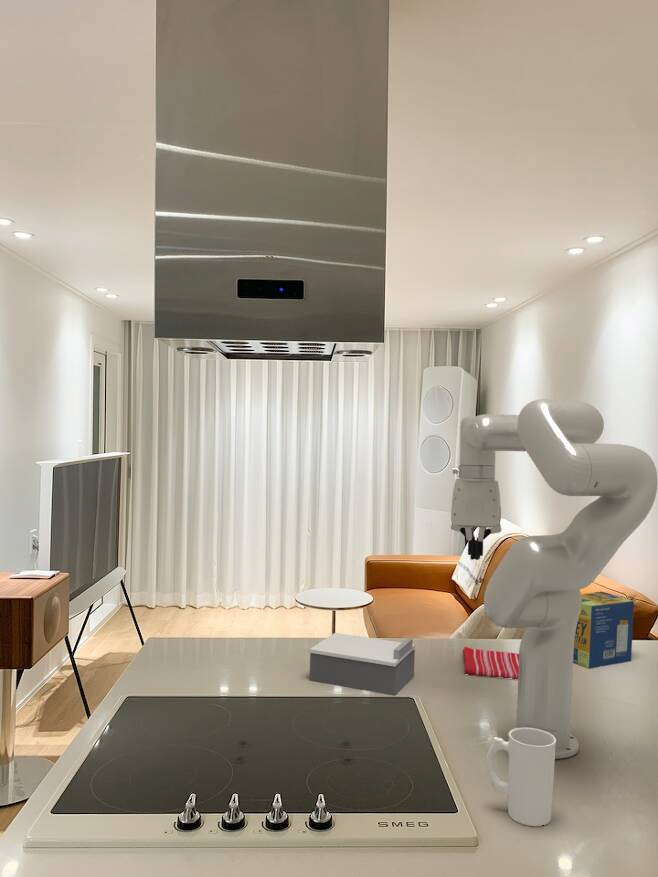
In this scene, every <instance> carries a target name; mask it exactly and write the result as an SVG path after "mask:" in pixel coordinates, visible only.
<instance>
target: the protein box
mask: <svg viewBox="0 0 658 877" xmlns="http://www.w3.org/2000/svg"><path fill="white" fill-rule="evenodd" d="M581 599H582V602H581V610H580V614H579V618H578V622H577V627H576V632H575V640H574V653H573V662H574V663H573V664H576V665H579V666H581V667H583V666H584V667H583V668H585V667H586V669H588V668H589V669H592V668H593V669H594V667H595V668H599V667H600V666H601V667H605V666H612V665H617V664H624V663H629V662H631V661H632V650H633V630H634V629H633V627H634V626H633V625H634V608H635V606H634V605H635V602H634V601H635V600H631V599H628V598H625V597H622V596H618V595H615V594H611V593H608V592H604V591H596V592H590V593H589V592H587V593H581Z"/></svg>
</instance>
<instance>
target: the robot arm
mask: <svg viewBox="0 0 658 877" xmlns="http://www.w3.org/2000/svg"><path fill="white" fill-rule="evenodd" d="M604 426H605V422H604V418H603V416H602V413H601V412H600V411H599V410H598V408H596V407H595V406H594V405H592V404H590V403H589V402H588V403H587V402H585V401H579V400H568V399H567V400H566V399H563V400H562V399H536V400H532V401H530V402H528V403H526V404H525V405H524V406H523V407H522V409H521V410H520V411H519V413H518V414H492V413H491V414H479V415H474V416H473V415H470V416H465V417H464V416H463V418H462V419H461V421H460V427H459V428H460V430H459V431H460V433H459V435H460V436H459V437H460V438H459V464H458V466H456V467H452V474H455V475H457V476H458V478H459V479H455V480H454V485H453V491H452V499H451V510H450V520H451V524H450V529H451V530H452V531H455V532H457V533H461V534H462V535H463V536H464V538H465V539H466V541H467V555H468V556H469V557H470V560H475V561H479V560H480V559H481V556H483V555H484V540H485V539H487V538H488V537H489V536H490V535H493V534H499V533H501V532H502V526H501V520H502V518H501V517H502V516H501V515H502V514H501V513H502V512H501V510H502V509H501V491H500V487H499V486H500V485H499V481H498V480H496V452H526V453H527V455H528V457H529V458H530V459H531V461H532V462H533V465H535V467H536V469H537V470H538V471H539V473H540V475H541V476H542V478H543V479H544V481H545V483H546V484H547V486H548V487H550V488H551V489H552V490H553V491H554V492H556V493H558V494H559V495H562V496H568V497H598V498H597V499H595V500H594V501H592V502H590V503H588V504H587V505H586V506H585V507H583V508H582V509H581V510H580V511H578V512H577V514H576V515H575V516H574V517H573V519H572V521H571V522H570V523H569V524H568V526H567V527H566V528H565V530H563V531H562V532H560V533H557V534H550V535H549V534H547V535H545V534H544V535H529V536H525V537H522V538H520V539H517V541H515V542H514V543H513V544H512V545H511V546H510V547H509V549H508V550H507V552H506V553H505V555H504V556H503V558H502V559H501V561H500V563H499V564H498V566H497V567H496V569H495V571H494V572H493V574H492V576H491V577H490V579H489V581H488V583H487V584H486V588H485V590H484V595H483V597H484V598H483V607H484V610H485V611H484V612H485V614H486V616H487V618H488V619H489V621H490V622H491V623H493V624H494V625H496V627H497V626H498V627H500V628H505V629H519V628H521V629H522V628H525V631H524V633H523V635H522V637H521V641H520V643H519V648H518V649H519V650H518V654H519V670H518V680H517V701H516V705H517V706H516V726H514V727H511V728H510V729H509V730H508V732H507V737H506V739H507V740H506V741H507V742H508V741H509V732H510V731H511V730H513V729H516V728H535V729H540V730H543V731H546V732H548V733H550V734H552V735H553V736H554V737H555V738H556V743H555V760H556V759H557V760H558V759H559V760H560V759H566V758H567V759H568V758H570V757H573V756H574V755H576V754H577V753H578V752H579V750H580V744H579V741H578V739H577V738H576V737H575V736H574V735H572V733H571V723H572V701H573V700H572V696H573V695H572V694H573V670H574V669H573V668H574V663H573V653H574V640H575V632H576V627H577V622H578V618H579V614H580V610H581V602H582V599H581V594H582V592H581V590H583V589H585V588H587V587H589V586H590V585H591V584H592V583H593V582H594V581H596V578H598V576H599V575H600V574H601V572H602V571H603V570H604V568H605V567H606V566H607V565H608V564H609V562H610V561H611V560H612V559H613V557H614V556H615V554H616V553H617V552H618V550H619V549H620V548H621V546H622V545H623V544H624V542H625V541H626V540H627V539H629V537H630V536H631V535H632V534H633V533H635V531H636V530H637V529H638V528H639V526H640V525H641V524H642V523H643V522H644V520H645V519H646V518H647V516H648V515H649V513H650V511H651V509H652V507H653V505H654V503H655V501H656V500H655V499H656V497H657V493H658V492H657V491H658V471H657V467H656V464H655V462H654V461H653V459H652V457H651V456H650V455H649V454H648V453H647V452H646V451H643V450H642V449H641V448H637V447H635V446H631V445H627V444H621V443H596V442H597V441H598V440H599V439H600V438H601V436H602V435H603V431H604V429H605V427H604ZM474 528H478V534H477V537H475V534H474Z"/></svg>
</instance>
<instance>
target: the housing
mask: <svg viewBox="0 0 658 877" xmlns="http://www.w3.org/2000/svg"><path fill="white" fill-rule="evenodd" d="M309 653H310V652H309ZM415 653H416V650H415V649H414V650H413V651H412V652H411V653H409V654H408V655H407V656H406V657H405V658H404V659H403V660H402V661H401V662H400V663H399V664H397V665H396V666H395V667H394V666H388V665H382V664H376V663H370V662H363V661H357V660H351V659H345V658H339V657H333V656H327V655H320V654H314V653H310V654H309V656H310V657H309V658H310V659H309V681H312V682H317V683H322V684H329V685H334V686H335V685H336V686H340V687H345V688H352V689H356V690H362V691H369V692H374V693H379V694H384V695H388V696H389V695H390V696H391V695H392V696H396V695H397V694H398V693H399V692H400V691H401V690H402V689H403V688H404V686H406V685H407V684H408V683H409V681H410V680H412V678H413V677H414V676H415V661H416V660H415V658H416V656H415V655H416V654H415Z"/></svg>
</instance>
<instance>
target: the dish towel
mask: <svg viewBox="0 0 658 877" xmlns="http://www.w3.org/2000/svg"><path fill="white" fill-rule="evenodd" d="M462 656H463V658H464V661H463V662H464V668H463V669H464V673H463V674H464V675H465V674H468V675H467V676H473V675H476V677H482V676H489V677H488V678H493V677H503V678H512V679H511V680H515V679H518V670H519V653H517V652H507V651H498V650H485V649H477V648H472V647H468V646H464V647H463V649H462ZM503 678H502V679H503Z"/></svg>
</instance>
